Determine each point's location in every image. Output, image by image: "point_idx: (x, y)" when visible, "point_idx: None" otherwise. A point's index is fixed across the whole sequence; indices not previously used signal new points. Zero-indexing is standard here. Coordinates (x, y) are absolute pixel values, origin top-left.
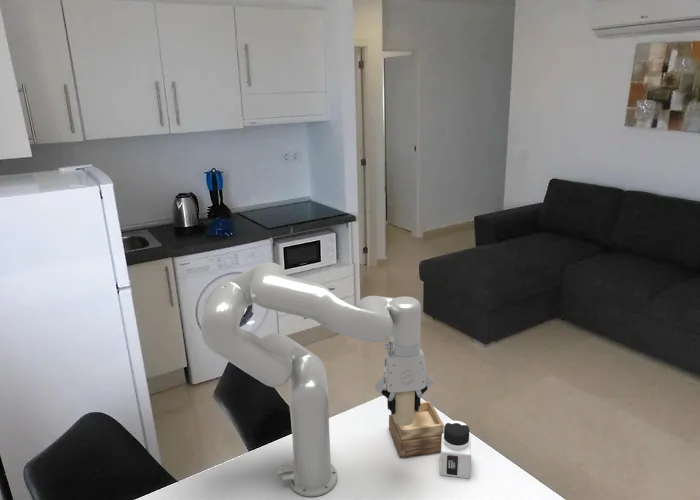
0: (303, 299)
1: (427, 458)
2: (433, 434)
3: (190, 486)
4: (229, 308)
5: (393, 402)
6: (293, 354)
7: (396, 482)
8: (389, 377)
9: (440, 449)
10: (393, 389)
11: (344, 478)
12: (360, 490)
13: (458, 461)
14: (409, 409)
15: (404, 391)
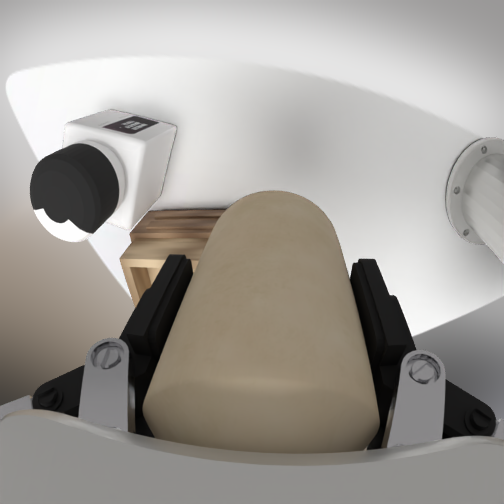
0: None
1: (198, 194)
2: (160, 243)
3: None
4: None
5: (392, 334)
6: None
7: (309, 120)
8: None
9: (157, 214)
10: (482, 488)
11: (433, 172)
12: (410, 119)
13: (110, 122)
14: (240, 253)
15: (297, 468)
